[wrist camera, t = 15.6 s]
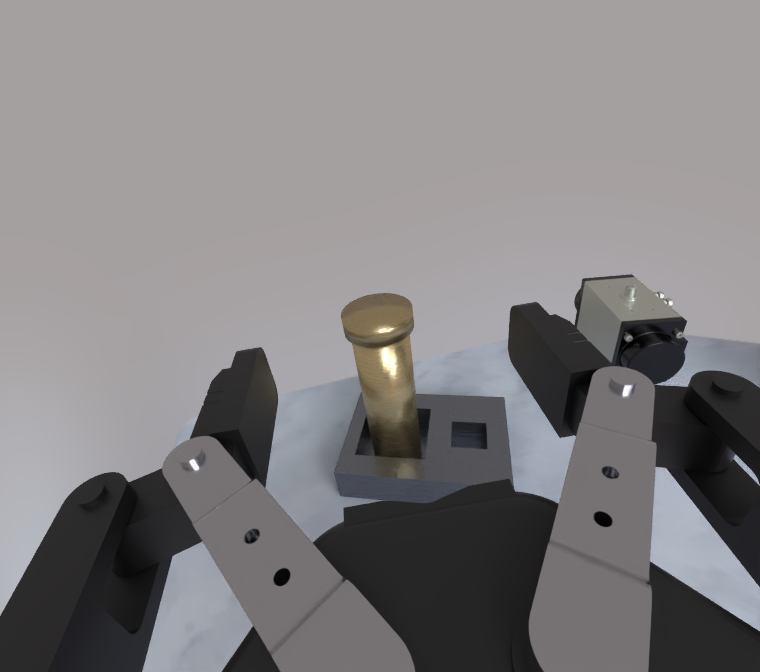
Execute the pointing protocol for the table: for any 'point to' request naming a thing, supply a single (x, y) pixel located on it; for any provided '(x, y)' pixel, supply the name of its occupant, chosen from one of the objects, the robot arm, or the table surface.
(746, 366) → the table surface
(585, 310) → the pneumatic valve
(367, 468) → the plate
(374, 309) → the brass headed pin
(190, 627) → the table surface
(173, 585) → the table surface
